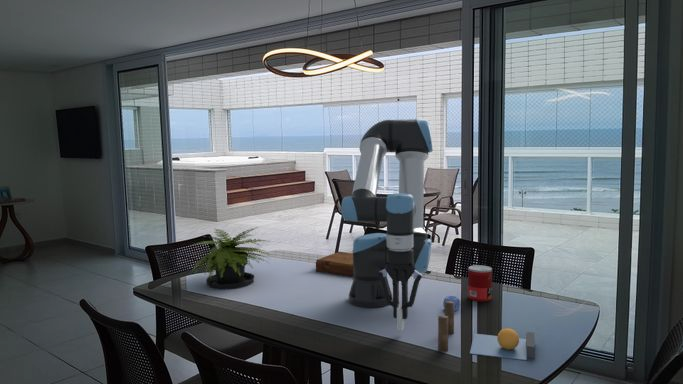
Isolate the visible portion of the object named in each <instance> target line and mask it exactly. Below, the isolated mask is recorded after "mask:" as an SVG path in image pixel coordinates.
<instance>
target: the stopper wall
mask: <svg viewBox="0 0 683 384" xmlns="http://www.w3.org/2000/svg"><path fill="white" fill-rule="evenodd" d="M525 334H526V335H525V337H526V338H525V339H526V354H527V358H528V359H535V358H536V341H535V340H536V339H535V332H531V331H526V333H525Z"/></svg>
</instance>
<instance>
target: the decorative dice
mask: <svg viewBox="0 0 683 384" xmlns="http://www.w3.org/2000/svg"><path fill="white" fill-rule="evenodd" d="M446 301H452V302H454V312H456V311H458V310H459V309H460V305H461V301H460V299H459V298H458V297H457V296H455V295H447V296H446V297H445V298H444V299H443V303H442V305H443V308H444V309H445V302H446Z"/></svg>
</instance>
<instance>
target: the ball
mask: <svg viewBox="0 0 683 384" xmlns="http://www.w3.org/2000/svg"><path fill="white" fill-rule="evenodd" d="M497 336H498V337H497V340H498V343H499V345H500V346H501V347H502V348H504V349H506V350H512V349H514V348H516V347H517V345H518V343H519V338H520V337H519V334H518V332H516V330H514V329H512V328H503V329H501V330H500V331H499V332H498V333H497Z"/></svg>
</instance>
